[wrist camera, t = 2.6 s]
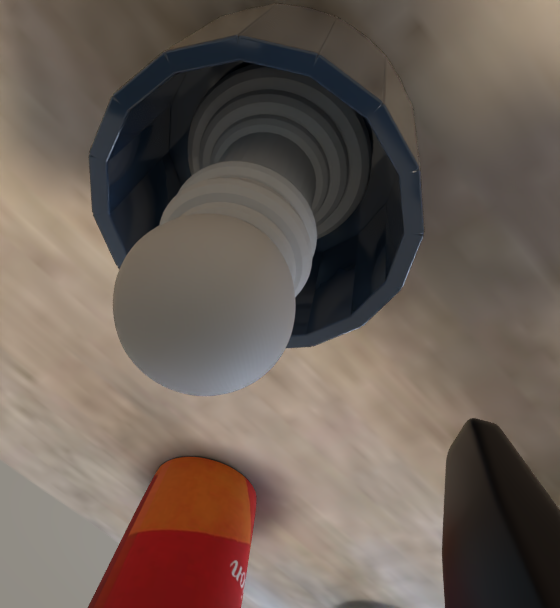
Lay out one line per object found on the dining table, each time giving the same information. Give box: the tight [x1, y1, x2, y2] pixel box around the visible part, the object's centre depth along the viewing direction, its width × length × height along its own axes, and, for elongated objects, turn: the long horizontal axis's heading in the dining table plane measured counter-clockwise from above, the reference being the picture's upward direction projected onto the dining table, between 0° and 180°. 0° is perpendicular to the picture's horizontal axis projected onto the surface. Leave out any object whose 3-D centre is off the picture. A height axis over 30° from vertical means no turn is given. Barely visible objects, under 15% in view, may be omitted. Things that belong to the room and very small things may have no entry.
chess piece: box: [113, 64, 372, 396], centre depth 12 cm, size 5×5×9 cm
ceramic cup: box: [89, 3, 424, 348], centre depth 14 cm, size 8×8×5 cm
